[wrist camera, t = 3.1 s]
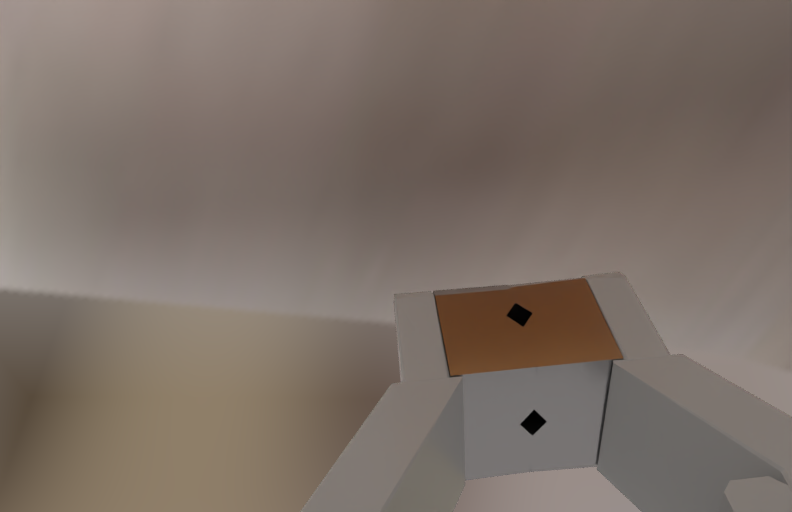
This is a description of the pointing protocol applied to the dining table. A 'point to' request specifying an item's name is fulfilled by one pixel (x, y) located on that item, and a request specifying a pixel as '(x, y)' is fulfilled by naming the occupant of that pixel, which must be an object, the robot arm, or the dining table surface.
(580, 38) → the dining table surface
